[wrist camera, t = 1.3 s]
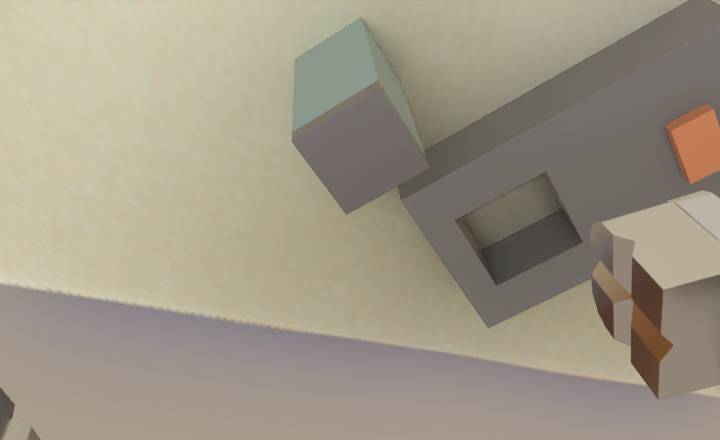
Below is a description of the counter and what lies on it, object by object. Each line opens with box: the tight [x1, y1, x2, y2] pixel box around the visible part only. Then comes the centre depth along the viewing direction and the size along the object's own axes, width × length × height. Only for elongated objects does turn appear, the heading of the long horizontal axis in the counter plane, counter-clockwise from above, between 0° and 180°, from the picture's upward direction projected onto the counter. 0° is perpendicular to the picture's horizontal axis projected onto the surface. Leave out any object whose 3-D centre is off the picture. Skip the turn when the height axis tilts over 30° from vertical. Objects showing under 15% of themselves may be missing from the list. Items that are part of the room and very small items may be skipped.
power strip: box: [398, 0, 720, 328], centre depth 40 cm, size 20×12×5 cm, turn 121°
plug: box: [292, 18, 430, 215], centre depth 33 cm, size 4×4×11 cm
